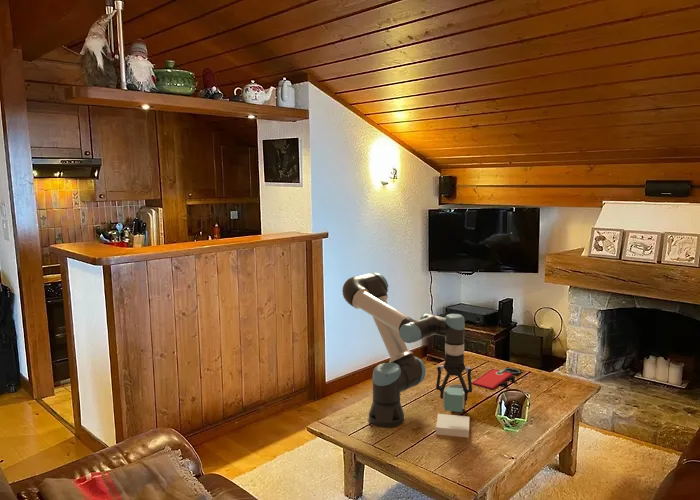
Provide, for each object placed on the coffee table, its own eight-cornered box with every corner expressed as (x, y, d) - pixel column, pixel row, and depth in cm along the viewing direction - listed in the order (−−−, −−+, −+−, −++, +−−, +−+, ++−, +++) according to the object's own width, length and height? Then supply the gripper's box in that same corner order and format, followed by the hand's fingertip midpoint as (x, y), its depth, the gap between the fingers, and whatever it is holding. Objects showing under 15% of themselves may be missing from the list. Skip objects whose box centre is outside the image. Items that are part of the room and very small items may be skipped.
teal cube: (444, 410, 219) (444, 394, 218) (445, 403, 225) (445, 387, 224) (462, 412, 217) (462, 395, 216) (462, 404, 224) (463, 388, 223)
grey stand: (435, 434, 219) (435, 427, 218) (437, 420, 230) (438, 413, 230) (468, 437, 216) (469, 430, 215) (469, 423, 227) (469, 416, 227)
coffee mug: (467, 414, 235) (467, 392, 233) (447, 413, 237) (447, 391, 235) (467, 403, 246) (467, 382, 244) (447, 401, 248) (448, 380, 246)
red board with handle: (525, 373, 280) (498, 366, 289) (526, 367, 279) (498, 361, 289) (500, 393, 257) (471, 385, 267) (500, 387, 257) (471, 380, 266)
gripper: (428, 354, 216) (428, 408, 220) (480, 357, 212) (478, 413, 215) (430, 348, 223) (429, 400, 227) (480, 351, 219) (478, 404, 222)
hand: (453, 406), depth 221 cm, fingers closed on teal cube, 7 cm apart
